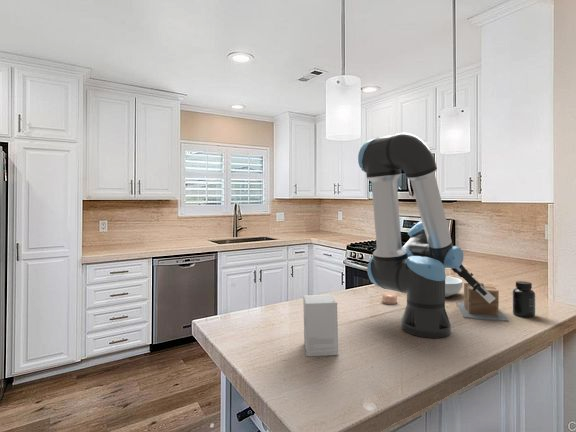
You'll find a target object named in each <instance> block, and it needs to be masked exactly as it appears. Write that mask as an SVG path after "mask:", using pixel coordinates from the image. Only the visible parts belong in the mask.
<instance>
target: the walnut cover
mask: <svg viewBox="0 0 576 432" xmlns="http://www.w3.org/2000/svg"><path fill="white" fill-rule="evenodd" d="M479 284H481V285H482V286H483V287H484V288H485V289H486V290H487V291H488V292H489V293H490V294H491V295H492V296H493V297H495V298H496V299H495V300H493V301H492V302H491V303H490V304H489V303H488V302H487V301H486V300H485V299H484V298H483V297H482V296H481V295H480V294H479V293H478V292H477V291H476V290H475V291H473V290H472V289H473V287H472V286H471V285H470V284H469V283H468V282H464V283H463V303H464V307H465V308H466V310H467V312H468V313H469V314H481V315H494V316H498V309H499V310H500V308H499V302H500V301H499V299H500V298H499V294H500V293H499V291H500V290H498V289H497V287H495V286H494V285H493V284H489V283H483V282H479ZM475 285H476V284H475ZM475 285H474V286H475Z"/></svg>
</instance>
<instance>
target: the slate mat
mask: <svg viewBox="0 0 576 432" xmlns="http://www.w3.org/2000/svg"><path fill="white" fill-rule="evenodd" d="M455 304H456V306H457V308H458V307H459V308H458V309H459V311H460V312H461V315H462V317H463V318H464V319H473V320H474V319H475V320H484V321H487V320H488V321H498V322H499V321H500V322H510V320H509V318H507V316H506V315H505V314H504V313H503V312H502V311H501V309H500V308H499V309H498V316H494V315H481V314H469V313H468V312H467V310H466V308H465V307H464V302H455Z"/></svg>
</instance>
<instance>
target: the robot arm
mask: <svg viewBox="0 0 576 432" xmlns="http://www.w3.org/2000/svg"><path fill="white" fill-rule="evenodd" d="M357 160H358V166H359V168H360V169H361V171H363V172H364V173H365V174H366V180H368V181H369V182H370V183H371V191H372V193H371V194H372V205H373V217H374V230H375V231H374V232H375V243H376V248H375V250H374V251H372V256H371V257H370V259H368V263H367V267H366V268H367V276H368V278H369V280H370V282H371V283H372V284H373V285H375V286H377V287H379V288H381V289H384V290H390V291H394V292H398V293H403V294H406V305H405V308H404V312H403V315H402V318H401V321H400V323H401V325H400V327H401V330H403V331H404V332H406V333H407V334H410V335H412V336H417V337H421V338H427V339H428V338H429V339H439V338H441V339H442V338H446V337H448V336H450V335H451V333H452V326H451V322H450V318H449V316H448V313H447V310H446V297H445V278H446V276H447V275H446V269H451V270H452V272H454V273H455V274H457V275H458V276H459V277H460V278H462V279H463V280H465V281H466V283H469V284H470V285H471V286H472V287H473V289H472V290H473V291H475V290H476V291H477V292H478V293H479V294H480V295H481V296H482V297H483V298H484V299H485V300H486V301H487V302H488V303H489V304H490V303H491V302H492V301H493V300H495V299H496V298H495V297H493V296H492V295H491V294H490V293H489V292H488V291H487V290H486V289H485V288H484V287H483V286H482V285H481V284H479V283H480V282H479V280H478V279H476V278H475V277H474V274H473V273H472V272H469V270H468V269H466V268H465V265H464V264H463V262H464V252H463V250H462V248H461V247H460V246H457V245H453V242H452V237H451V233H450V229H449V225H448V222H447V217H446V213H445V210H444V206H443V201H442V197H441V194H440V190H439V184H438V180H437V177H436V172H437V170H438V166H437V163H436V159H435V157H434V155H433V153H432V152H431V149H430V148H429V147H428V145H427V144H426V143H425V142H424V140H423V139H421V138H419V137H418V136H417V135H414V134H412V133H409V132H400V133H396V134H392V135H386V136H381V137H375V138H372V139H370V140H367V141H364V143H363V144H362V146H361V147H360V149H359V152H358V155H357ZM402 170H403V171H404V174H405V177H406V178H407V179H408V180H410V184H411V188H412V190H413V194H414V198H415V201H416V205H417V209H418V212H419V216H420V218H421V221H418V222H416V223H415V225H413V226H412V227H411V228H410V229H409V230H408V232H407V235H408V236H409V239H408V240H407V241H406V242H405V244H404V245H403V246H402V234H401V221H400V220H401V219H400V218H401V217H400V205H399V204H400V203H399V194H398V179H399V178H400V177H401V175H402ZM475 284H476V285H475ZM474 285H475V286H474Z"/></svg>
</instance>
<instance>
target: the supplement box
mask: <svg viewBox="0 0 576 432" xmlns="http://www.w3.org/2000/svg"><path fill="white" fill-rule="evenodd" d="M302 298H303V302H302V303H303V339H304V341H303V343H304V348H305V353H306V356H307V357H320V356H321V357H323V356H338V355H339V334H338V333H339V328H338V326H339V325H338V319H339V318H338V302H337V301H336V299H335V298H334V296H333V294H305V295H303V297H302Z"/></svg>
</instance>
